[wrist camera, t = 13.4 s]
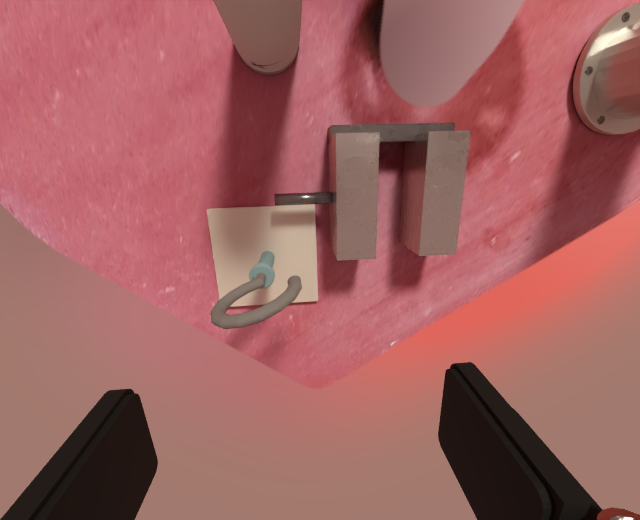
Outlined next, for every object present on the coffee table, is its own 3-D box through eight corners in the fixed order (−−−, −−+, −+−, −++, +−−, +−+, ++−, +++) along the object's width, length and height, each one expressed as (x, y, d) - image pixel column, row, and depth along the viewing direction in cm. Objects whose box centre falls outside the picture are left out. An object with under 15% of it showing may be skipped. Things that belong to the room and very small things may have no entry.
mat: (314, 204, 34) (314, 205, 34) (317, 298, 38) (318, 301, 38) (207, 208, 33) (206, 209, 33) (221, 305, 37) (220, 307, 37)
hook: (295, 236, 35) (296, 288, 20) (302, 256, 36) (308, 319, 21) (232, 257, 35) (189, 324, 21) (240, 276, 36) (205, 353, 21)
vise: (440, 126, 33) (471, 118, 27) (430, 240, 37) (455, 254, 31) (271, 129, 32) (267, 122, 26) (280, 247, 36) (277, 263, 30)
